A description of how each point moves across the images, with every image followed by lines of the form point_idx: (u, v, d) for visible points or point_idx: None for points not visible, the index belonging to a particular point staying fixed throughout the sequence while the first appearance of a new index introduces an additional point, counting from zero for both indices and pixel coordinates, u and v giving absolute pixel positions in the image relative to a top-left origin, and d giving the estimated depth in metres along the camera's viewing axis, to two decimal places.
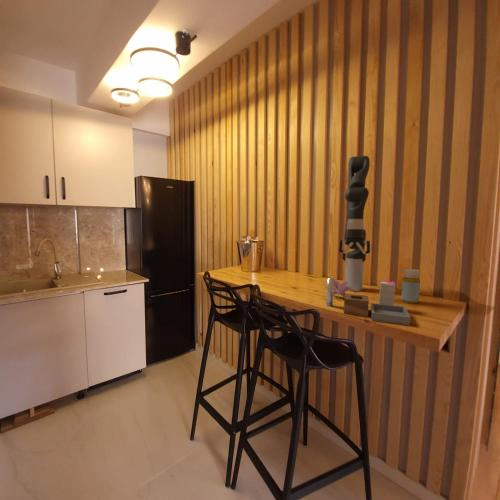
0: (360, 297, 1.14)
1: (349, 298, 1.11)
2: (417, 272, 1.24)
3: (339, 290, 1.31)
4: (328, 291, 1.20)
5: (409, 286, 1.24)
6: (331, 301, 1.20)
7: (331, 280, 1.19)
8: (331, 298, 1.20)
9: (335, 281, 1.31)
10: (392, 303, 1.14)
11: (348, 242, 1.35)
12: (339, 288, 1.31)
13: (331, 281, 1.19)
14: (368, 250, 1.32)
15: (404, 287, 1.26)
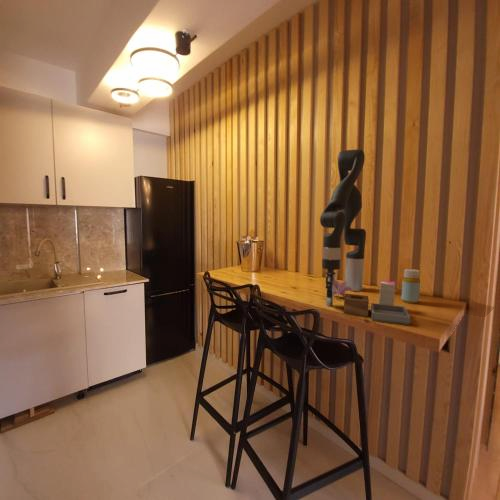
0: (360, 297, 1.14)
1: (349, 298, 1.11)
2: (417, 272, 1.24)
3: (339, 290, 1.31)
4: None
5: (409, 286, 1.24)
6: (331, 301, 1.20)
7: None
8: (331, 298, 1.20)
9: (335, 281, 1.31)
10: (392, 303, 1.14)
11: (332, 276, 1.17)
12: (339, 288, 1.31)
13: None
14: None
15: (404, 287, 1.26)
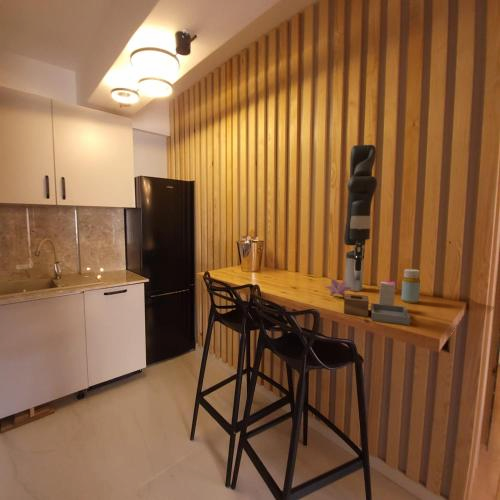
0: (360, 297, 1.14)
1: (349, 298, 1.11)
2: (417, 272, 1.24)
3: (338, 290, 1.32)
4: None
5: (409, 286, 1.24)
6: (360, 275, 1.11)
7: None
8: (360, 271, 1.11)
9: (334, 281, 1.32)
10: (392, 303, 1.14)
11: (362, 247, 1.08)
12: (338, 288, 1.32)
13: None
14: None
15: (404, 287, 1.26)
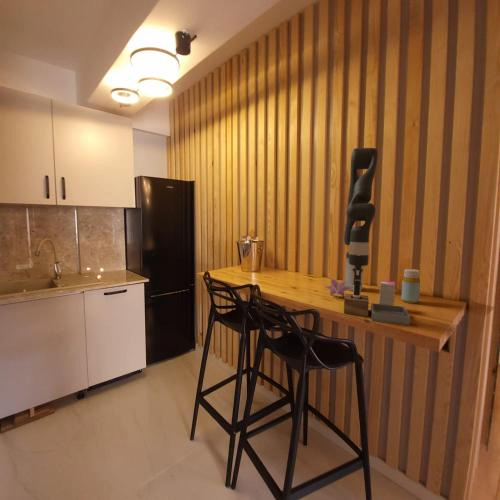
0: (360, 297, 1.14)
1: (349, 298, 1.11)
2: (417, 272, 1.24)
3: (338, 290, 1.32)
4: (355, 296, 1.12)
5: (409, 286, 1.24)
6: None
7: None
8: None
9: (334, 281, 1.32)
10: (392, 303, 1.14)
11: None
12: (338, 288, 1.32)
13: None
14: None
15: (404, 287, 1.26)
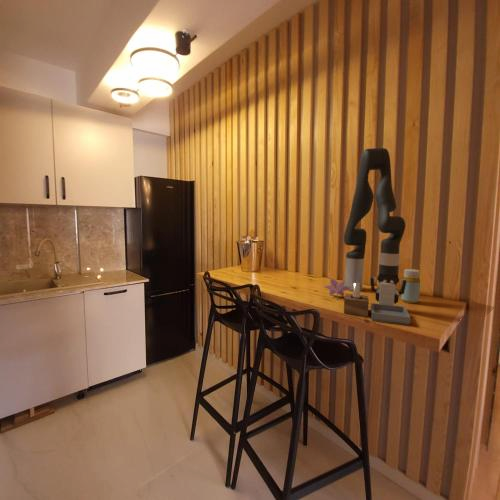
0: (360, 297, 1.14)
1: (349, 298, 1.11)
2: (417, 272, 1.24)
3: (338, 289, 1.32)
4: (355, 296, 1.12)
5: (409, 286, 1.24)
6: None
7: (358, 284, 1.11)
8: None
9: (334, 280, 1.32)
10: (392, 303, 1.14)
11: None
12: (338, 287, 1.32)
13: (358, 285, 1.11)
14: None
15: None
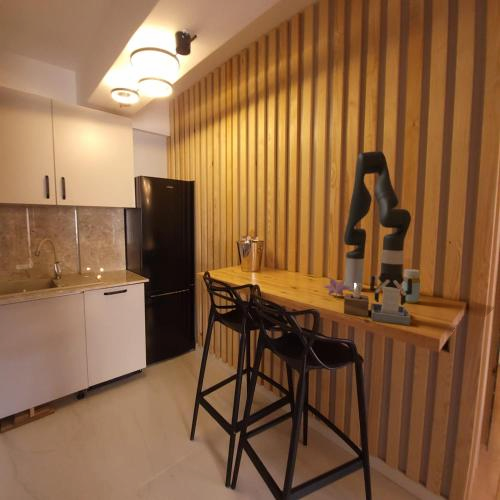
0: (360, 297, 1.14)
1: (349, 298, 1.11)
2: (417, 272, 1.24)
3: (337, 289, 1.33)
4: (355, 296, 1.12)
5: None
6: None
7: (359, 284, 1.11)
8: None
9: (333, 280, 1.33)
10: (397, 310, 1.03)
11: None
12: (337, 287, 1.33)
13: (359, 285, 1.11)
14: None
15: (404, 287, 1.26)
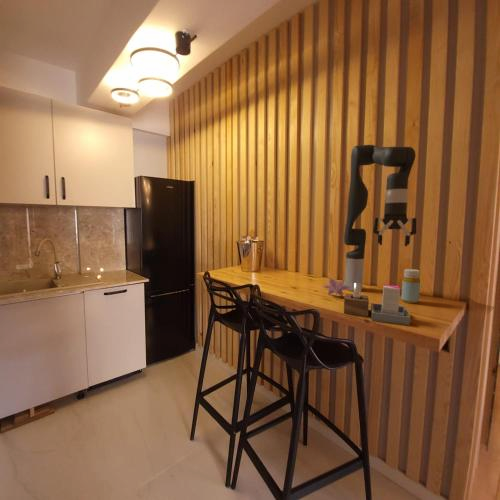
0: (360, 297, 1.14)
1: (349, 298, 1.11)
2: (417, 272, 1.24)
3: (336, 289, 1.33)
4: (355, 296, 1.12)
5: (409, 286, 1.24)
6: None
7: (358, 285, 1.11)
8: None
9: (333, 280, 1.33)
10: (397, 310, 1.03)
11: None
12: (336, 287, 1.33)
13: (358, 286, 1.11)
14: None
15: (404, 287, 1.26)
